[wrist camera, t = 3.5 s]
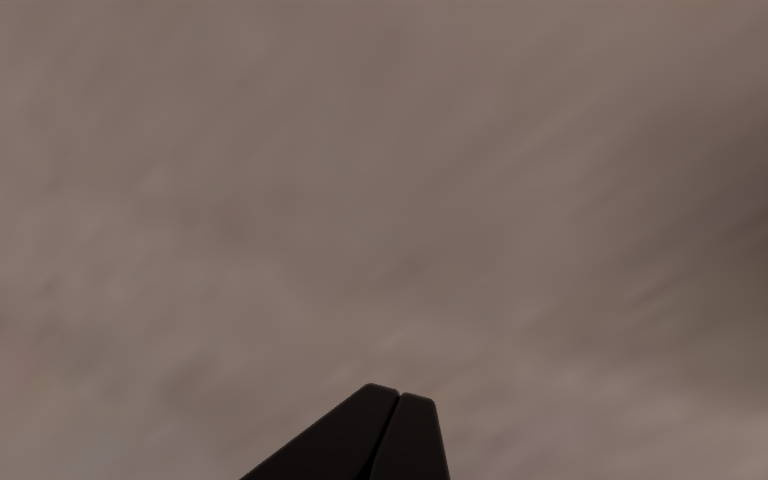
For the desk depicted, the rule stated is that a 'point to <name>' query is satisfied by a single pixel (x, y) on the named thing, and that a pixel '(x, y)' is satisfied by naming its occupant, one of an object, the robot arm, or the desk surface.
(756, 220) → the desk surface
